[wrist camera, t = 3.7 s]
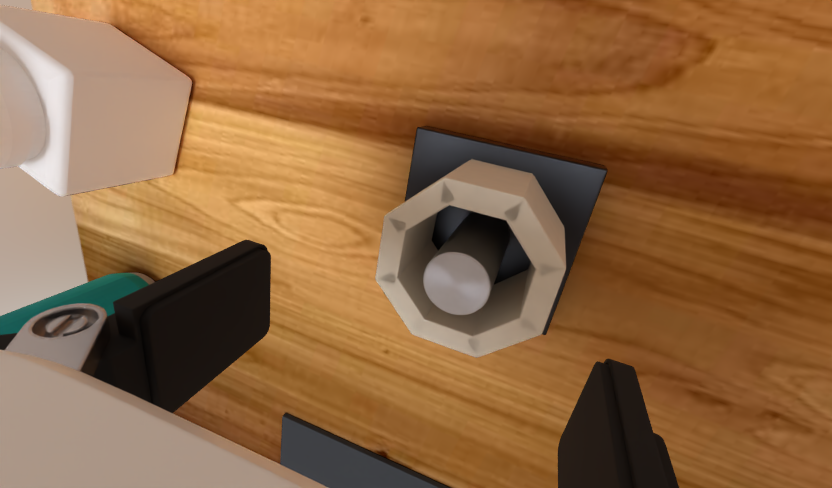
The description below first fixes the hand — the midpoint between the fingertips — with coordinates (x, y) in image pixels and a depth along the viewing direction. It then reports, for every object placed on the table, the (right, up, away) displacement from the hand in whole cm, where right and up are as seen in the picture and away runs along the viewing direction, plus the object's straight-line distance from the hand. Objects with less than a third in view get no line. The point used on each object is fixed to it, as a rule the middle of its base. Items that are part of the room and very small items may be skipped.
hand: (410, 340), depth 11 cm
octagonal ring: (+4, +3, +9) cm, 10 cm away
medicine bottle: (-18, +12, +15) cm, 27 cm away
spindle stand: (+4, +4, +10) cm, 12 cm away
